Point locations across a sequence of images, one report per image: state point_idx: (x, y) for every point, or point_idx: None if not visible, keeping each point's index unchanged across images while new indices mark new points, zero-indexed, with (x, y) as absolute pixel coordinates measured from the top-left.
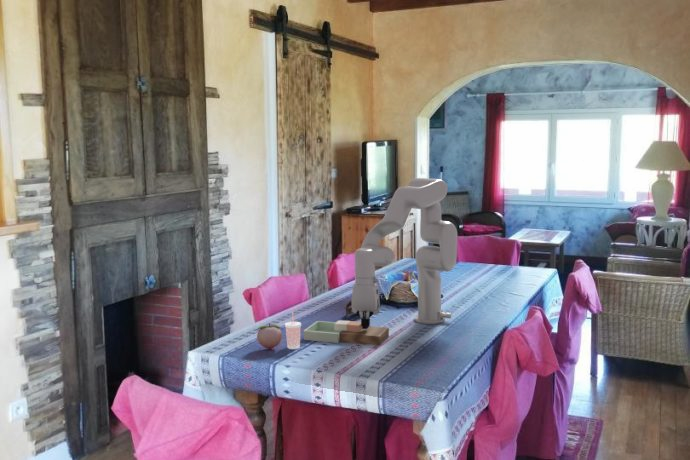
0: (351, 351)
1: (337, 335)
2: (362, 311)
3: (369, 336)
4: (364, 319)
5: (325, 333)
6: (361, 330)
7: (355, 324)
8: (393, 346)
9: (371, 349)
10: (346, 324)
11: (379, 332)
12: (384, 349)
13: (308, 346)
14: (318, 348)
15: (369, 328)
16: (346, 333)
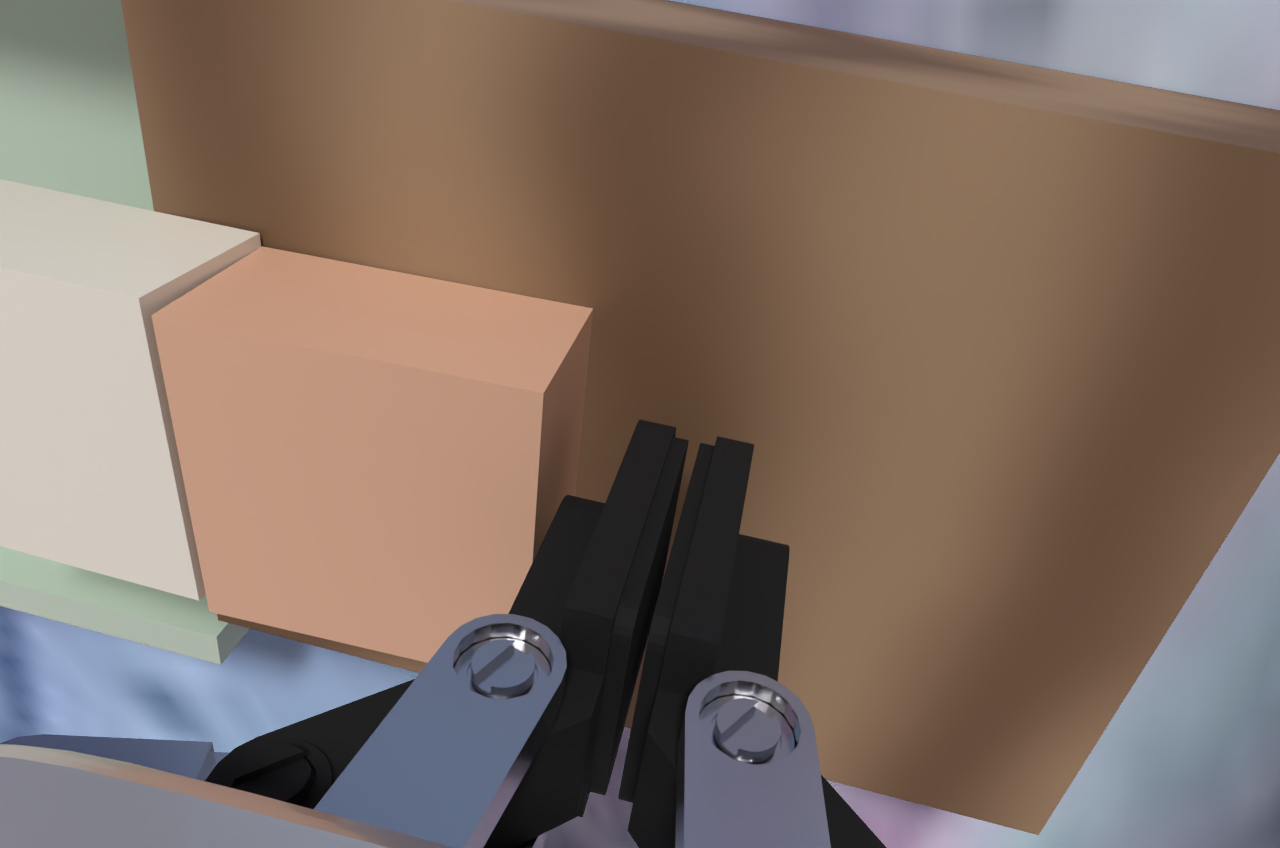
0: (602, 844)
1: (233, 642)
2: (409, 834)
3: (820, 763)
4: (612, 763)
5: (13, 597)
6: (592, 473)
7: (406, 607)
8: (1271, 724)
9: (867, 809)
10: (200, 595)
11: (1053, 613)
12: (1077, 824)
13: (33, 669)
14: (179, 733)
15: (772, 302)
16: (354, 648)
